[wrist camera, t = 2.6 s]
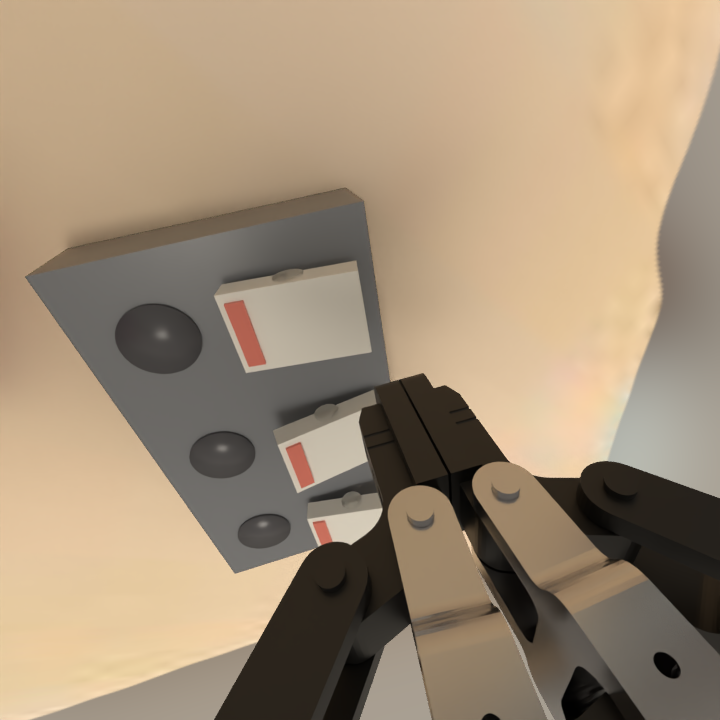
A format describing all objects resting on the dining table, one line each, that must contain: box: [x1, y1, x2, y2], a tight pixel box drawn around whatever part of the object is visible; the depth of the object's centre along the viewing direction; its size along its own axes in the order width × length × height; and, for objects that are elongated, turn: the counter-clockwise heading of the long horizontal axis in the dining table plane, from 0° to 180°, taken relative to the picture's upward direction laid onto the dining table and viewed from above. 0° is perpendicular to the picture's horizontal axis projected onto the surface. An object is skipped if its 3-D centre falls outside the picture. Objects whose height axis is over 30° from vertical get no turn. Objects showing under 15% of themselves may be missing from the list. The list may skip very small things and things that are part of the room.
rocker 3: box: [307, 491, 382, 547], centre depth 26 cm, size 6×4×2 cm, turn 99°
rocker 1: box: [214, 261, 372, 373], centre depth 17 cm, size 6×4×2 cm, turn 99°
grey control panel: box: [25, 188, 390, 574], centre depth 24 cm, size 14×24×4 cm, turn 9°
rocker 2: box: [273, 390, 376, 493], centre depth 21 cm, size 6×4×2 cm, turn 99°
